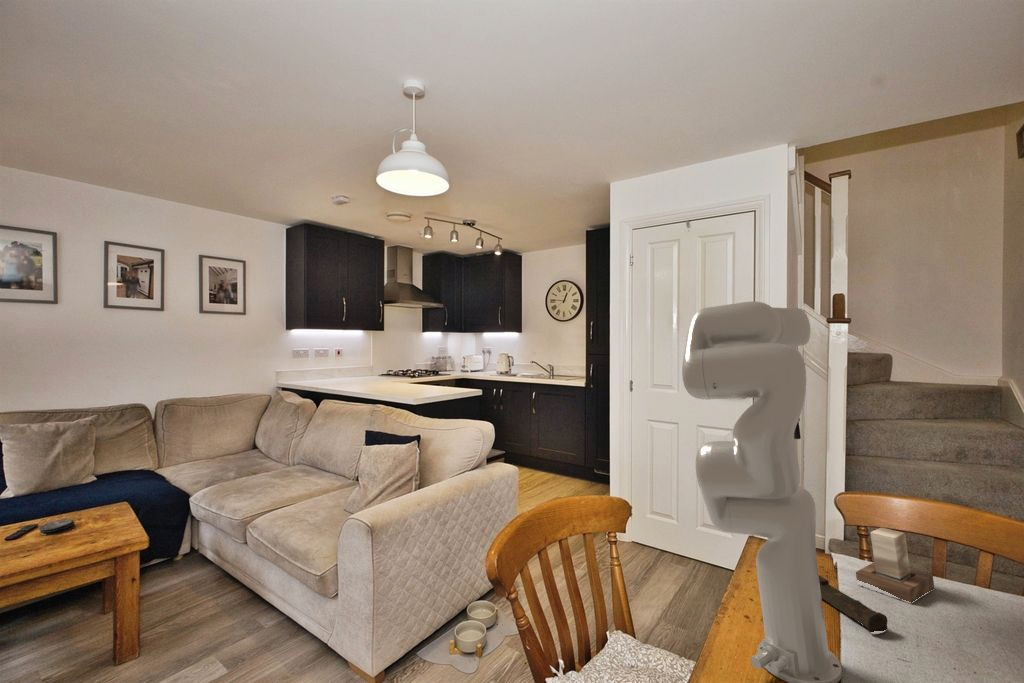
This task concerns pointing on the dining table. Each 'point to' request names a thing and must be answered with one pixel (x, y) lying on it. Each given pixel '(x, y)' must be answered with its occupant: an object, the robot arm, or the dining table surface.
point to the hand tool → (852, 607)
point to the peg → (890, 554)
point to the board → (898, 583)
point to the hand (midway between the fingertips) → (780, 441)
